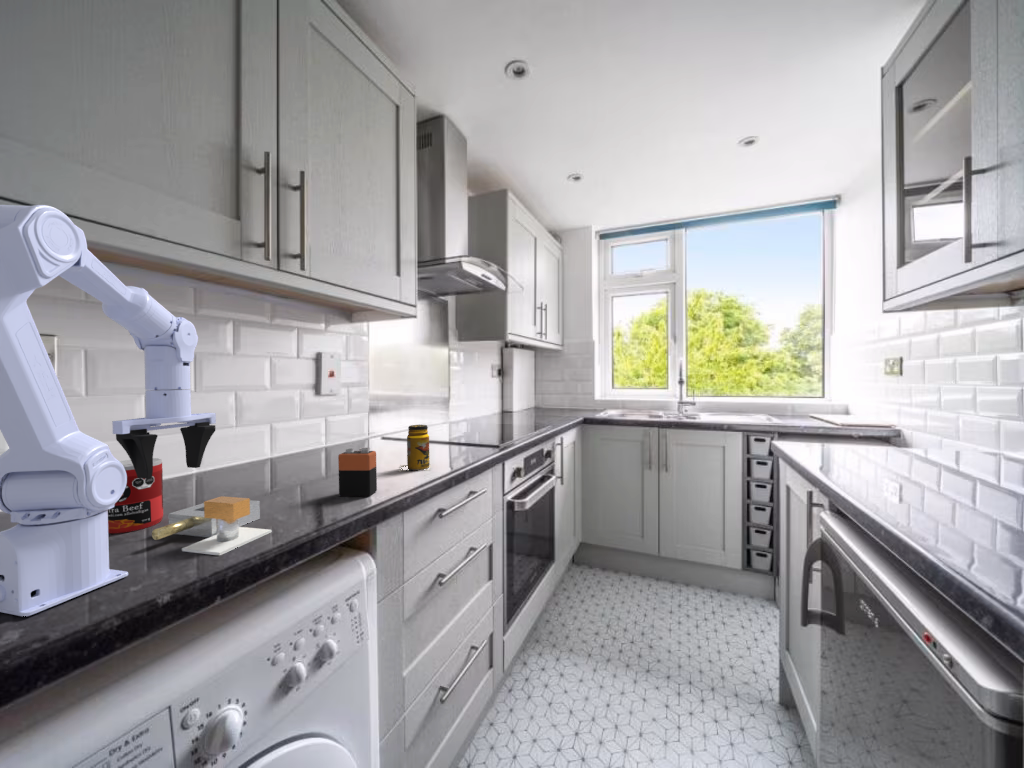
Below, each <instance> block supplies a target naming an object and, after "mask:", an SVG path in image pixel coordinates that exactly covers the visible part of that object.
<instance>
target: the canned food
mask: <svg viewBox="0 0 1024 768" xmlns="http://www.w3.org/2000/svg"><path fill="white" fill-rule="evenodd" d="M119 461H120V460H119ZM120 462H121V463H122V465H123V466H124V469H125V471H126V474H127V484H126V488H125V490H124V492H123V494H122V496H121V497H120V499H119V500H118V501H117V502H116V503H115V504H114V506H115V507H113V508H111V509H108V534H124V533H130V532H135V531H140V530H145V529H147V528H150V527H153V526H155V525H158V524H159V523H161V521H162V520H163V517H164V489H163V488H164V486H163V484H164V483H163V481H164V480H163V475H164V474H163V461H162V458H158V457H157V458H156V457H153V474H152V478H148V479H144V478H137V475H136V471H135V469H134V466H133V464H132V461H131V459H128V460H127V459H126V460H121V461H120Z"/></svg>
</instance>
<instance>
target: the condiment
mask: <svg viewBox="0 0 1024 768" xmlns="http://www.w3.org/2000/svg"><path fill="white" fill-rule="evenodd" d="M428 428H429V427H428V425H426V424H412V425H411V424H410V425H409V426H408V430H407V433H408V434H407V437H406V462H407V465H405V464H404V465H403V464H402V465H401V464H400V466H401V467H404V466H405V467H406V466H408V469H409V470H424V469H427V470H426V471H431V470H432V466H431V463H430V435H429V434H428V432H429V430H428ZM400 466H399V467H400ZM429 467H431V469H429V470H428V468H429ZM401 469H402V468H401ZM401 469H400V468H399V470H400V471H399V470H398V472H399V473H401V472H410V471H409V470H407V471H406V470H403V469H402V470H403V471H402V470H401Z"/></svg>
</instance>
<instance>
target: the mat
mask: <svg viewBox="0 0 1024 768" xmlns="http://www.w3.org/2000/svg"><path fill="white" fill-rule="evenodd" d="M272 531H273V530H272V529H267V528H266V529H265V528H258V527H257V528H256V527H248V526H247V527H246V526H240V527H239V537H238V538H237V539H234V540H231V541H227V542H218V541H217V535H214V536H212V537H206V538H205V539H202V540H200V541H197V542H195V543H191V544H189V545H187V546H184V547H182V548H181V552H187V553H195V554H203V555H204V554H205V555H213V556H222V555H224V554H226V553H229V552H230V551H233V550H236V549H238V548H240V547H242V546H244V545H246V544H249V543H251V542H253V541H255V540H258V539H260V538H262V537H264V536H267V535H268V534H271V533H272ZM237 547H238V548H237ZM235 548H236V549H235Z"/></svg>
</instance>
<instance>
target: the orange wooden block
mask: <svg viewBox="0 0 1024 768" xmlns="http://www.w3.org/2000/svg"><path fill="white" fill-rule="evenodd" d="M250 500H251V499H250V498H249V497H237V496H236V497H233V496H222V495H221V496H218V497H215V498H210V499H208V500H205V501H204V500H203V503H204V518H213V519H216V526H217V541H218V542H227V541H231V540H234V539H237V538H238V537H239V522H238V519H239V518H241V517H244V516H247V515H249V514H250Z"/></svg>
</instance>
